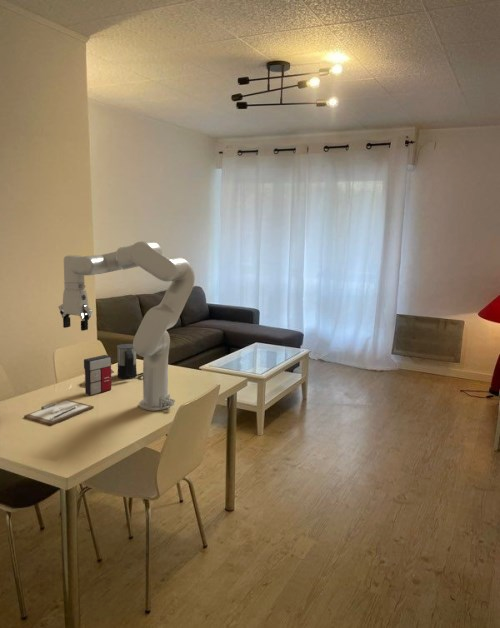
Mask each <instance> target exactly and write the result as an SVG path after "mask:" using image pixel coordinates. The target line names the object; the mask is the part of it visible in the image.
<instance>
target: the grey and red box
mask: <svg viewBox="0 0 500 628" xmlns="http://www.w3.org/2000/svg"><path fill="white" fill-rule="evenodd" d="M83 369H84V385H85V388H84V389H85V391H84V392H85V395H87V396H94V395H98V394H100V393H104V392H108V391H111V390H112V374H111V369H112V356H111V355H108V354H104V355H99V356H98V355H97V356H94V357H90V358H89V357H88V358H85V359H83Z"/></svg>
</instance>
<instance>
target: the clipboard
mask: <svg viewBox="0 0 500 628" xmlns="http://www.w3.org/2000/svg"><path fill="white" fill-rule="evenodd" d="M75 406H77V408H75V409H72V410H70V411H68V412H66V413H64V414H62V415H60V416H58V417H55V418H54V419H50V418H51V417H53V416H55V415H58V414H60V413H62V412H63V411H64V409H65V410H68V409H71V408H73V407H75ZM58 407H59V408H60V407H61V408H62V407H63V408H62V409H63V410H62V409H61V410H60V411H57V412H55V413H52V410H54V409H56V408H58ZM94 408H95V406H94V405H90V404H87V403H83V402H78V401H74V400H70V399H65V400H63V401H60V402H58V403H55V402H50V403H47V404H45V405H42V406H41V409H38V410H36V411H33V412H31V413H28V414H25V415H23V418H24V419H27V420H30V421H34V422H37V423H41V424H44V425H48V426H54V425H56V424H59V423H61V422H65V421H66V420H69V419H71V418H74V417H76V416H78V415H81V414H83V413H86V412H88V411H91V410H93V409H94Z"/></svg>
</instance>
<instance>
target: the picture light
mask: <svg viewBox="0 0 500 628" xmlns="http://www.w3.org/2000/svg"><path fill="white" fill-rule="evenodd" d="M62 408H63V407H62ZM62 408H61V407H60V408H59V407H58V408H56V409H54V410H52V413H55V412H57V411H60V410H61V409H62ZM75 408H77V406H75V407H73V408H71V409H68V410H65V409H64V411H63V412H62V413H60V414H58V415H55V416H53V417H51V418H50V419H54V418H55V417H58V416H60V415H62V414H64V413H66V412H68V411H70V410H72V409H75ZM62 410H63V409H62Z"/></svg>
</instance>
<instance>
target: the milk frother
mask: <svg viewBox="0 0 500 628" xmlns="http://www.w3.org/2000/svg"><path fill="white" fill-rule="evenodd" d="M116 349H117V351H116V352H117V375H116V377H117V378H118V379H129V380H130V379H134V378H137V377H138V376H139V377H140V376H143V372H141V373H137V353H136V352H135V350H134V347H133V343H126V344H125V343H124V344H123V343H122V344H118V345H116Z"/></svg>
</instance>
